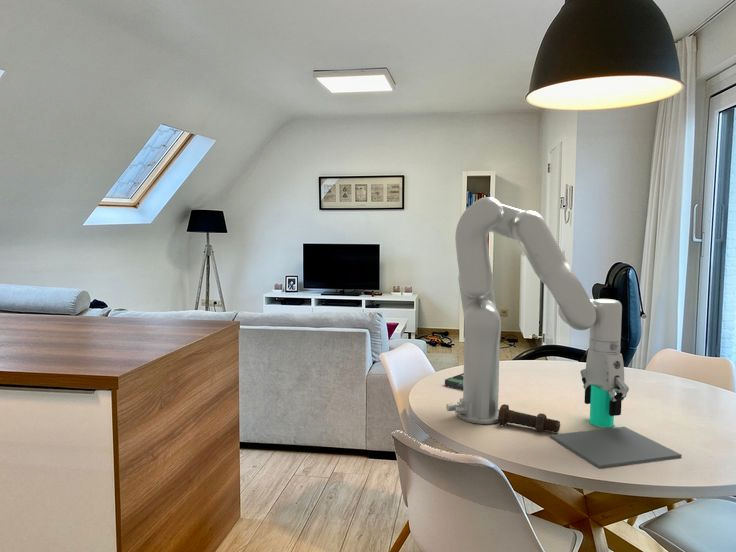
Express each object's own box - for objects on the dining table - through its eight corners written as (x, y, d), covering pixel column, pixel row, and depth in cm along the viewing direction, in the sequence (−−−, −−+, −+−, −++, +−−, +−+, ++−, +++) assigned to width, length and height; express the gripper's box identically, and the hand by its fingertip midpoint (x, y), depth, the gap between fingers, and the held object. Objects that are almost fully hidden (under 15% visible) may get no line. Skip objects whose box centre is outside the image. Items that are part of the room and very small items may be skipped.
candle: (593, 417, 147) (595, 375, 146) (616, 422, 144) (618, 378, 143) (586, 423, 143) (588, 379, 142) (610, 429, 139) (612, 383, 138)
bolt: (557, 442, 135) (499, 429, 143) (561, 427, 139) (504, 415, 146) (556, 426, 132) (496, 414, 140) (560, 411, 136) (502, 400, 143)
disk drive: (468, 378, 188) (444, 387, 177) (468, 370, 188) (444, 379, 177) (494, 384, 181) (471, 393, 170) (495, 376, 181) (471, 385, 170)
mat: (599, 468, 116) (599, 465, 116) (550, 437, 133) (550, 434, 133) (681, 457, 122) (681, 454, 122) (624, 428, 139) (624, 426, 139)
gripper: (641, 352, 134) (638, 418, 136) (594, 338, 151) (592, 398, 152) (615, 354, 132) (613, 421, 134) (571, 340, 149) (569, 400, 150)
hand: (602, 409), depth 143 cm, fingers open, 9 cm apart
